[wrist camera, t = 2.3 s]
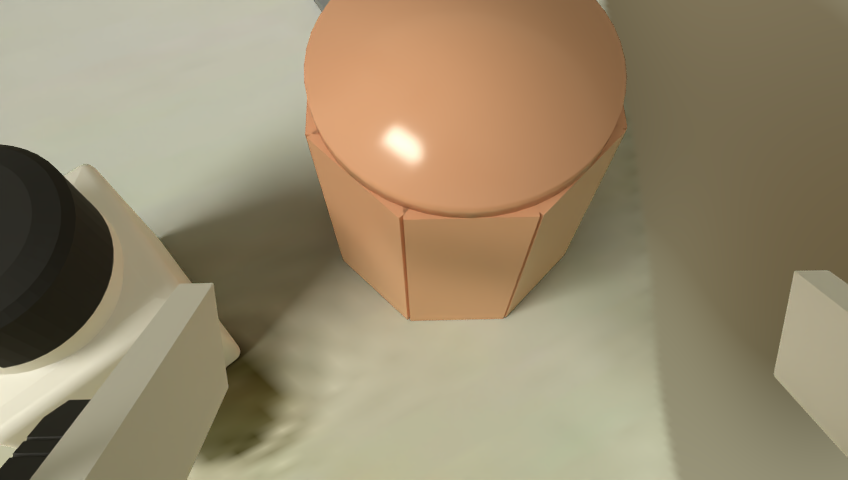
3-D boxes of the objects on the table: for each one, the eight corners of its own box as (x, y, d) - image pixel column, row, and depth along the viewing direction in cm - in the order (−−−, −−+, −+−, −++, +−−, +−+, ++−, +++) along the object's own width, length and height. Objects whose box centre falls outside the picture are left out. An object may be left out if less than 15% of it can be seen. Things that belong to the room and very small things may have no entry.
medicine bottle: (157, 236, 31) (9, 71, 20) (245, 355, 29) (133, 243, 18) (13, 334, 29) (-240, 212, 18) (95, 469, 27) (-136, 424, 16)
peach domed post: (298, 218, 31) (237, 66, 21) (446, 88, 34) (455, -101, 24) (458, 367, 28) (477, 275, 18) (605, 211, 31) (691, 57, 21)
